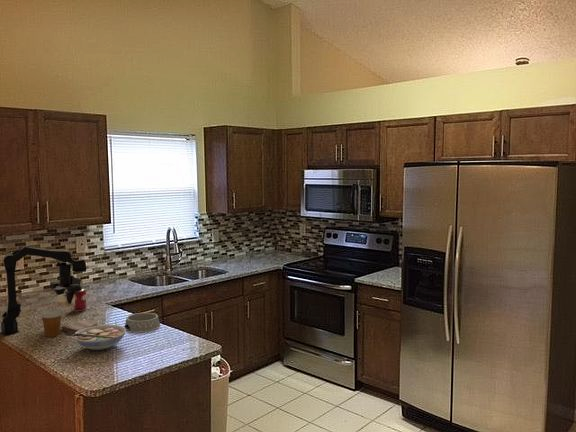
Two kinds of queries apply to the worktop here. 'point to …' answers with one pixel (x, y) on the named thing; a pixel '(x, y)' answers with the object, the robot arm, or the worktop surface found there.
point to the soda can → (80, 301)
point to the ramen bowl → (99, 336)
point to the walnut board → (77, 326)
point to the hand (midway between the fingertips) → (66, 302)
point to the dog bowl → (142, 321)
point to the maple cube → (65, 301)
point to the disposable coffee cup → (51, 322)
